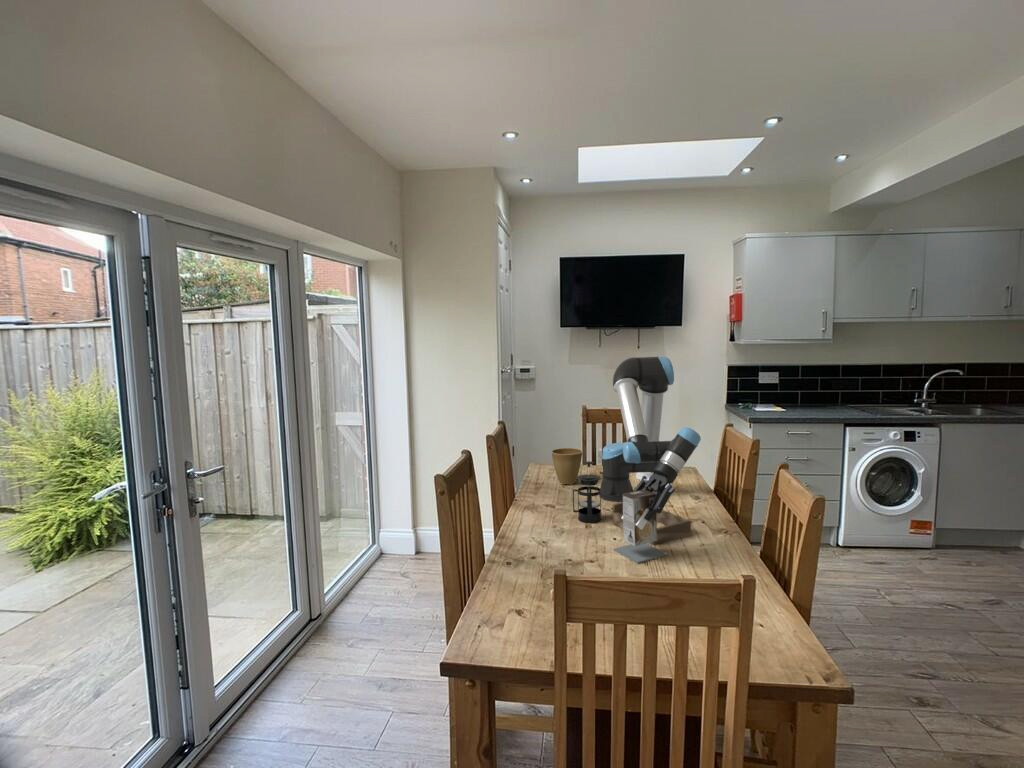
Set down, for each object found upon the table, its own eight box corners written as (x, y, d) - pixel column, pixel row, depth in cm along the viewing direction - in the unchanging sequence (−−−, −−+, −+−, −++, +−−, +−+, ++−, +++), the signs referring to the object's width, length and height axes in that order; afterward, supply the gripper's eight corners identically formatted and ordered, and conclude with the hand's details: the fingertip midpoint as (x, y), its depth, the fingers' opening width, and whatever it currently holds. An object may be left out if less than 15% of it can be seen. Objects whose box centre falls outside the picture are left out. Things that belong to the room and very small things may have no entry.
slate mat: (613, 550, 179) (613, 548, 179) (641, 543, 184) (641, 541, 184) (637, 563, 168) (637, 561, 168) (666, 555, 174) (666, 553, 173)
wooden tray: (612, 524, 202) (612, 504, 201) (648, 516, 210) (647, 496, 209) (653, 544, 182) (653, 522, 182) (690, 534, 190) (690, 512, 189)
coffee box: (645, 535, 180) (644, 488, 179) (657, 541, 174) (656, 493, 173) (622, 540, 176) (621, 493, 175) (634, 546, 171) (633, 498, 169)
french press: (603, 515, 213) (602, 459, 211) (604, 523, 204) (603, 465, 201) (573, 514, 214) (572, 459, 212) (573, 523, 205) (571, 465, 203)
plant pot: (584, 487, 251) (584, 454, 250) (553, 488, 252) (552, 455, 250) (581, 478, 266) (580, 447, 265) (551, 479, 266) (550, 448, 265)
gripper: (696, 480, 172) (658, 540, 166) (654, 468, 189) (618, 521, 183) (684, 467, 169) (645, 526, 163) (642, 455, 186) (606, 509, 180)
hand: (631, 523), depth 173 cm, fingers closed on coffee box, 7 cm apart
